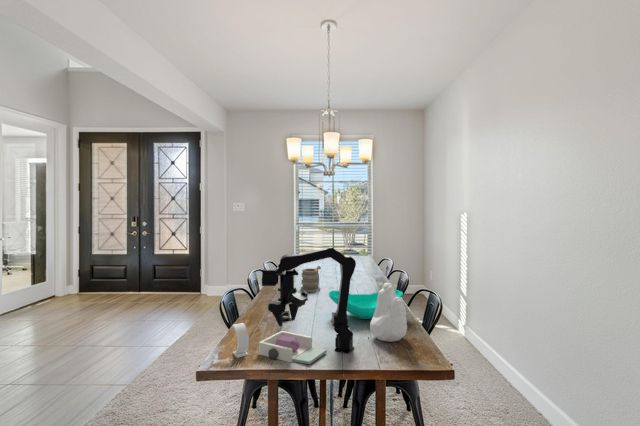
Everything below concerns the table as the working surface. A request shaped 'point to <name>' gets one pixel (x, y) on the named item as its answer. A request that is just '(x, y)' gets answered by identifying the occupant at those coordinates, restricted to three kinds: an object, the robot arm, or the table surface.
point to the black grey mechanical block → (287, 317)
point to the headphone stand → (241, 340)
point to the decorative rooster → (389, 316)
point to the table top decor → (361, 303)
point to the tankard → (310, 280)
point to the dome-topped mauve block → (288, 342)
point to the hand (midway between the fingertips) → (287, 323)
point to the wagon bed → (284, 353)
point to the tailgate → (310, 355)
